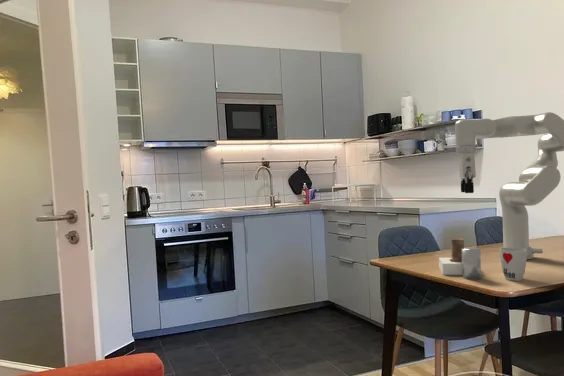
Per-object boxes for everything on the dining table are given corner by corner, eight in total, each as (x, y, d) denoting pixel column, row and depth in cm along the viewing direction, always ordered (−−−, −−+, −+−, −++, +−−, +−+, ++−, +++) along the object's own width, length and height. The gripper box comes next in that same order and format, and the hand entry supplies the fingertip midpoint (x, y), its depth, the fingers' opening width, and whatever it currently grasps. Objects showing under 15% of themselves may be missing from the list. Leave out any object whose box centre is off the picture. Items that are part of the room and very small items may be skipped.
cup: (495, 276, 149) (494, 248, 149) (517, 275, 150) (516, 246, 150) (509, 282, 141) (508, 251, 141) (533, 280, 142) (532, 250, 142)
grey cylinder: (479, 275, 152) (478, 247, 152) (483, 279, 146) (482, 250, 146) (461, 275, 153) (460, 247, 153) (464, 279, 148) (463, 250, 147)
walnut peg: (463, 270, 162) (462, 238, 161) (464, 272, 158) (463, 239, 158) (451, 270, 163) (450, 238, 163) (453, 272, 159) (452, 239, 159)
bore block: (472, 268, 165) (472, 257, 165) (478, 275, 153) (478, 263, 153) (439, 267, 168) (438, 257, 167) (442, 274, 156) (442, 263, 156)
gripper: (480, 148, 167) (481, 193, 167) (471, 151, 184) (473, 191, 184) (459, 149, 169) (460, 193, 169) (453, 152, 186) (454, 192, 186)
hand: (467, 192), depth 177 cm, fingers open, 9 cm apart
